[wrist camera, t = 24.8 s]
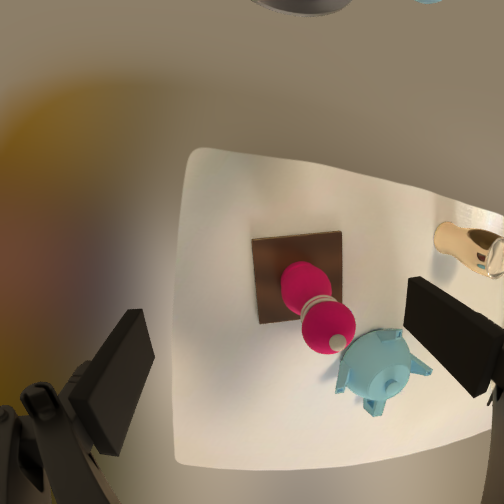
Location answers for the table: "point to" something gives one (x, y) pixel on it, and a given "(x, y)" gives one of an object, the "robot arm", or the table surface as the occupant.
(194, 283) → the table surface
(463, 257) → the beer glass
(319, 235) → the walnut board
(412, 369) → the teapot
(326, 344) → the pepper mill
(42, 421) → the robot arm
